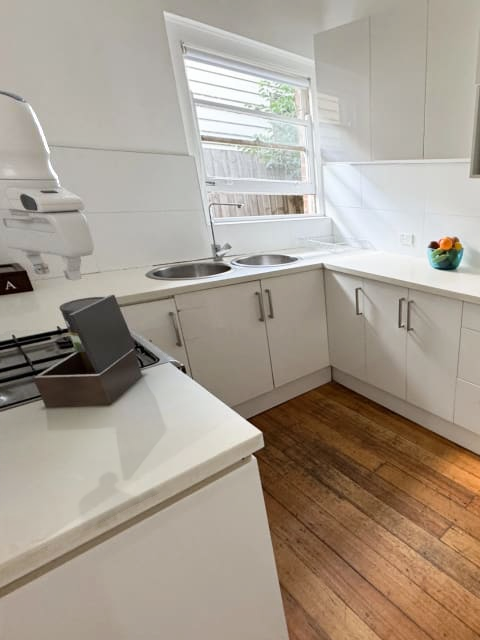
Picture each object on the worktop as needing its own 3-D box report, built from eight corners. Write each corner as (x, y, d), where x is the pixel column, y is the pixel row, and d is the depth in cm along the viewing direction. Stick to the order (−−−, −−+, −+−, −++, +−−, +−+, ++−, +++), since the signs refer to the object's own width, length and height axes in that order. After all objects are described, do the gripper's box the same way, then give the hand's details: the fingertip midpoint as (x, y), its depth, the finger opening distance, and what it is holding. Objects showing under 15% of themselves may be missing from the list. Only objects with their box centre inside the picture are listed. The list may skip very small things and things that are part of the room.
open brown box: (45, 407, 75) (32, 377, 72) (87, 377, 87) (77, 350, 84) (109, 405, 77) (99, 375, 74) (142, 375, 88) (134, 348, 85)
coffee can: (73, 368, 90) (52, 312, 84) (84, 351, 98) (66, 299, 93) (126, 360, 94) (109, 306, 89) (132, 345, 103) (117, 294, 97)
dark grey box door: (67, 315, 69) (72, 314, 69) (110, 294, 80) (114, 294, 80) (96, 373, 74) (100, 373, 74) (132, 347, 85) (136, 346, 85)
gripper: (-29, 195, 66) (3, 273, 72) (44, 201, 60) (73, 287, 65) (17, 194, 71) (43, 267, 77) (88, 199, 65) (112, 279, 70)
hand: (58, 276), depth 71 cm, fingers open, 8 cm apart
